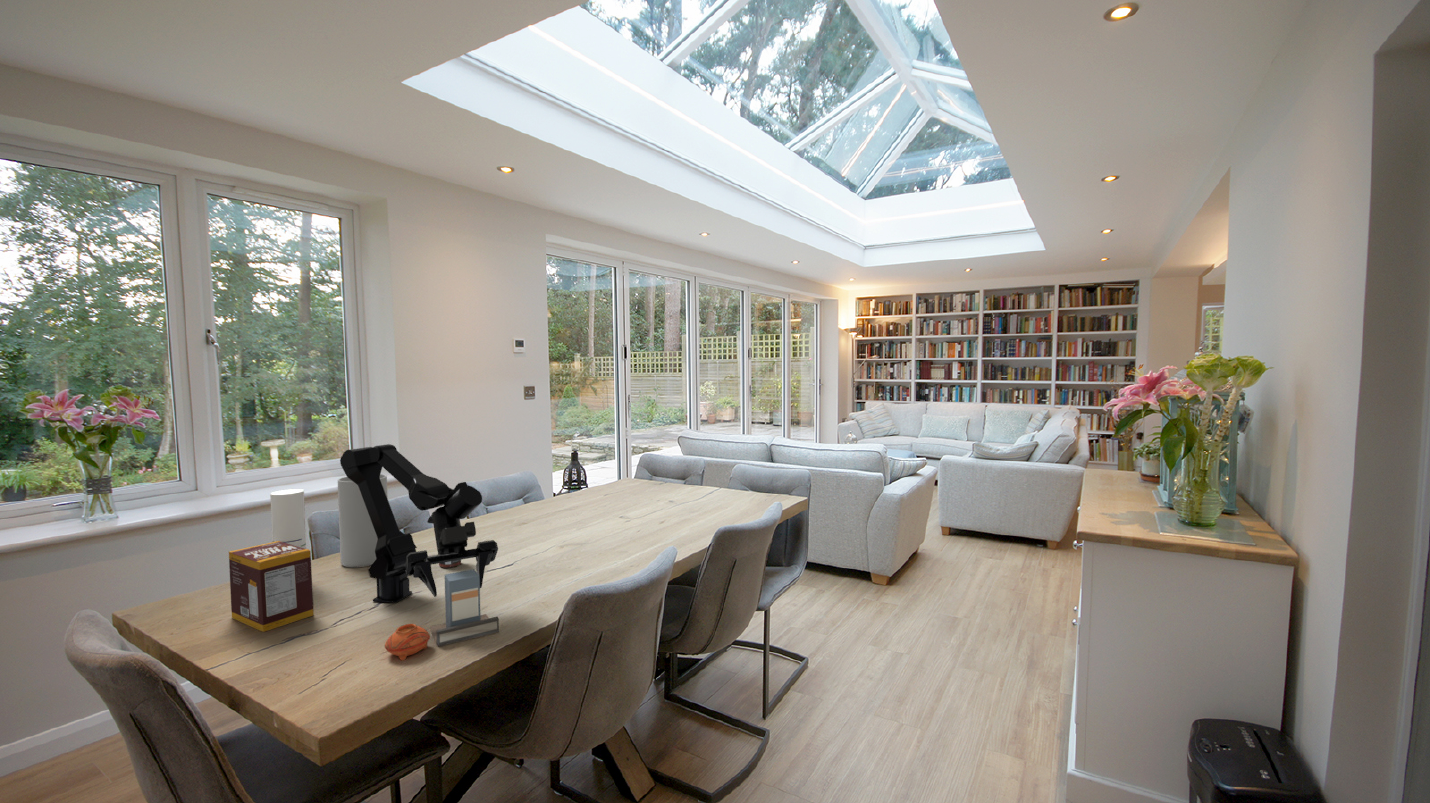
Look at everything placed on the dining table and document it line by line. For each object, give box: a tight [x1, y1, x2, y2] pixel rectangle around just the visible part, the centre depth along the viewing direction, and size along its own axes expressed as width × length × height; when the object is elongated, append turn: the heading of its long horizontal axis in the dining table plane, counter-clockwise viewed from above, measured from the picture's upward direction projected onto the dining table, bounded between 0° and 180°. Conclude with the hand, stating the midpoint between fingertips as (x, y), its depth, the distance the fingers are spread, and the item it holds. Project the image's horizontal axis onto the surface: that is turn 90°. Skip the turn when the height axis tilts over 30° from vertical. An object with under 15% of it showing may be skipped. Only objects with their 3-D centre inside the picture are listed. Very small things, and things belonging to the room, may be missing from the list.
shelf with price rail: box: [428, 613, 500, 648], centre depth 129 cm, size 11×12×4 cm
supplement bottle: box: [438, 560, 462, 569], centre depth 174 cm, size 6×6×11 cm
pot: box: [384, 623, 431, 661], centre depth 119 cm, size 8×8×7 cm
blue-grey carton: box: [444, 568, 481, 628], centre depth 128 cm, size 5×6×12 cm
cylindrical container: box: [269, 488, 307, 549], centre depth 157 cm, size 7×7×25 cm
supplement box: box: [228, 541, 315, 633], centre depth 138 cm, size 10×15×16 cm
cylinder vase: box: [337, 474, 389, 568], centre depth 177 cm, size 12×12×25 cm
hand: (458, 591), depth 131 cm, fingers open, 9 cm apart
